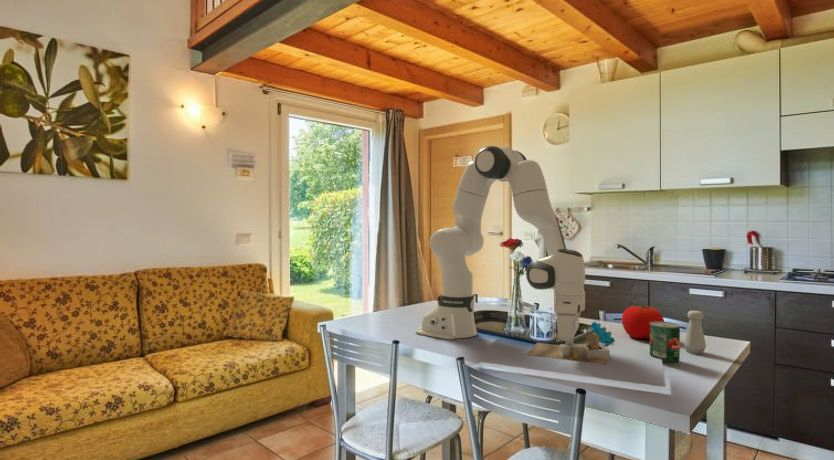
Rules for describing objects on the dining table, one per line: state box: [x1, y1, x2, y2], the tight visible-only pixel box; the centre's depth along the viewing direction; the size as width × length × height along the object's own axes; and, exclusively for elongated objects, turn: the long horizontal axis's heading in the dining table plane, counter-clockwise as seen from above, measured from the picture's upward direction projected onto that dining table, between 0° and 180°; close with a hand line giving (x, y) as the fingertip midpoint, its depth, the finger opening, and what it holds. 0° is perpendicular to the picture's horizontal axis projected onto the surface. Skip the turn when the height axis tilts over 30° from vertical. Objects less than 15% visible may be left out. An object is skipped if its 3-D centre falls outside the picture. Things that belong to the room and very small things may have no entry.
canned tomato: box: [649, 321, 681, 366], centre depth 139 cm, size 8×8×11 cm
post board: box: [526, 333, 608, 365], centre depth 142 cm, size 22×15×8 cm
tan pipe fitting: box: [559, 343, 610, 360], centre depth 139 cm, size 13×6×3 cm, turn 89°
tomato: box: [621, 304, 665, 340], centre depth 166 cm, size 13×14×12 cm
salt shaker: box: [684, 310, 707, 355], centre depth 147 cm, size 6×6×13 cm
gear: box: [590, 321, 615, 346], centre depth 156 cm, size 11×6×10 cm
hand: (569, 348), depth 143 cm, fingers closed
